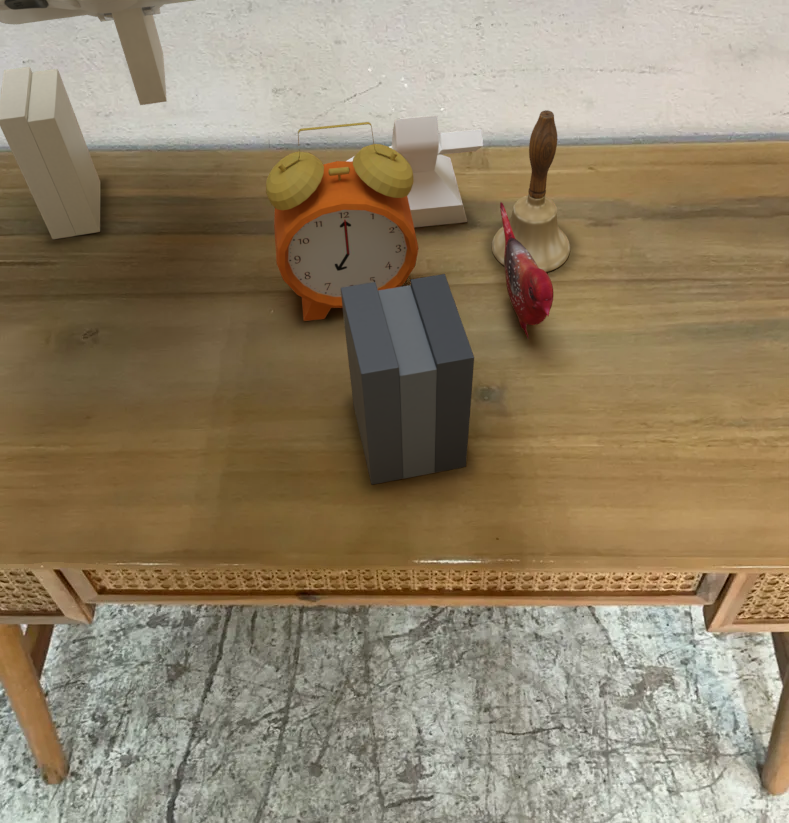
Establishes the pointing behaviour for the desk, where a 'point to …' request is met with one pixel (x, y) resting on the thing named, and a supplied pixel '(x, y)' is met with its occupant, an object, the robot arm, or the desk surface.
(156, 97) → the white book
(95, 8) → the robot arm
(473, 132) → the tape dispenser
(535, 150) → the hand bell
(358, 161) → the alarm clock
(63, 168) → the white books
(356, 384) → the grey books
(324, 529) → the desk surface
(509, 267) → the decorative bird figurine
